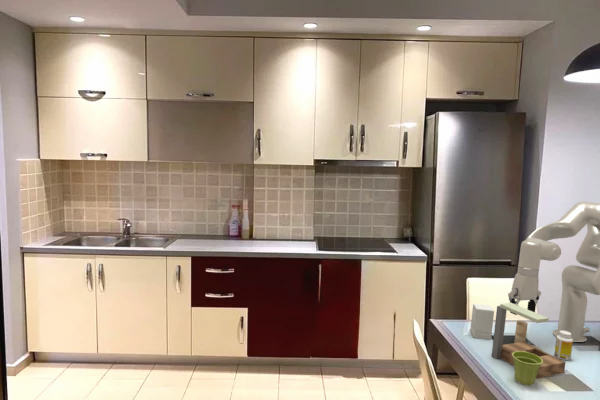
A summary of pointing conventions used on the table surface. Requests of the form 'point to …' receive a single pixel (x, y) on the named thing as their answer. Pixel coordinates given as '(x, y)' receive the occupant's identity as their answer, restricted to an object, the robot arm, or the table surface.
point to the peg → (521, 331)
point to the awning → (501, 324)
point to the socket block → (550, 362)
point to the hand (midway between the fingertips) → (522, 312)
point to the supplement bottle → (563, 345)
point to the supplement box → (482, 321)
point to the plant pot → (526, 367)
